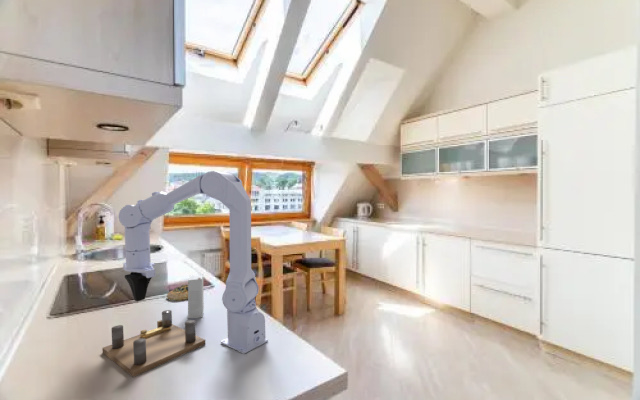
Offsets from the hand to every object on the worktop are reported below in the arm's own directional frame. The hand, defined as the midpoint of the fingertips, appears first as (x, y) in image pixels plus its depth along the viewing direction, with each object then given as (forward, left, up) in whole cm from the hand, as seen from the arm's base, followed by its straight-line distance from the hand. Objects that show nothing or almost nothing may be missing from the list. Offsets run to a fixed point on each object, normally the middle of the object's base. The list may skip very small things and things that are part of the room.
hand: (139, 299), depth 85 cm
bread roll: (+21, -24, -10) cm, 34 cm away
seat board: (-10, +1, -10) cm, 14 cm away
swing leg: (-4, -2, -9) cm, 10 cm away
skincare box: (+1, -17, -10) cm, 20 cm away
